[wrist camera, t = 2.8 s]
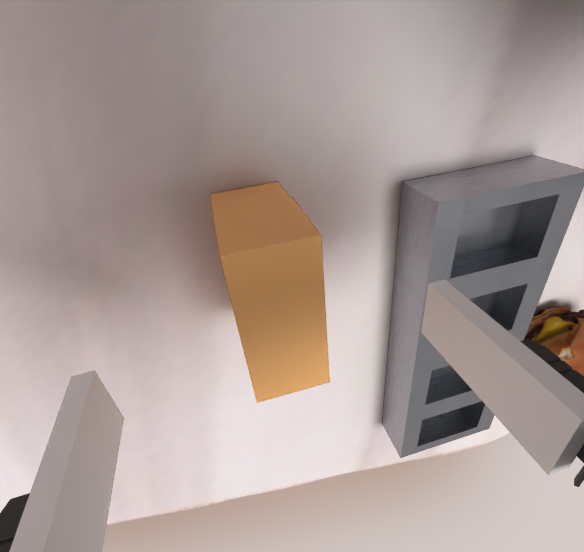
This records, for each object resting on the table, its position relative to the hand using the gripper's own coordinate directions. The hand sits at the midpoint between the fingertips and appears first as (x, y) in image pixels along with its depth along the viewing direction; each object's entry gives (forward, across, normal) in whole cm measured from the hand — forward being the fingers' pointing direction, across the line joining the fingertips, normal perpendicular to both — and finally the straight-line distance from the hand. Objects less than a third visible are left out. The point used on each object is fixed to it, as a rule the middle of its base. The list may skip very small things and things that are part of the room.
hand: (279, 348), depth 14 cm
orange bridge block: (+8, 0, 0) cm, 8 cm away
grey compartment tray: (+8, +14, -9) cm, 18 cm away
